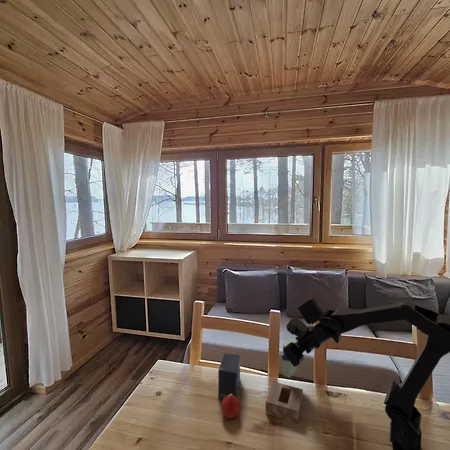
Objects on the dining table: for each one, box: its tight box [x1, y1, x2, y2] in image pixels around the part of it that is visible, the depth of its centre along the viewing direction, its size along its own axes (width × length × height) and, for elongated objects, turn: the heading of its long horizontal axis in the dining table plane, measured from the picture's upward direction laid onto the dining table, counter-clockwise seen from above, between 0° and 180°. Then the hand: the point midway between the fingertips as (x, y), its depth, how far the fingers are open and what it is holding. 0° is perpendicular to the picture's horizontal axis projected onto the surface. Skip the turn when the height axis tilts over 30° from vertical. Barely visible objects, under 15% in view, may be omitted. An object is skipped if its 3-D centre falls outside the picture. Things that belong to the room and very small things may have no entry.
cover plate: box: [282, 337, 298, 379], centre depth 95 cm, size 2×6×11 cm, turn 140°
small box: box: [217, 352, 241, 400], centre depth 96 cm, size 11×6×10 cm, turn 168°
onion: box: [221, 394, 241, 419], centre depth 83 cm, size 6×6×8 cm
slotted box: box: [265, 381, 304, 425], centre depth 86 cm, size 10×10×5 cm
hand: (286, 354), depth 95 cm, fingers closed on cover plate, 6 cm apart
